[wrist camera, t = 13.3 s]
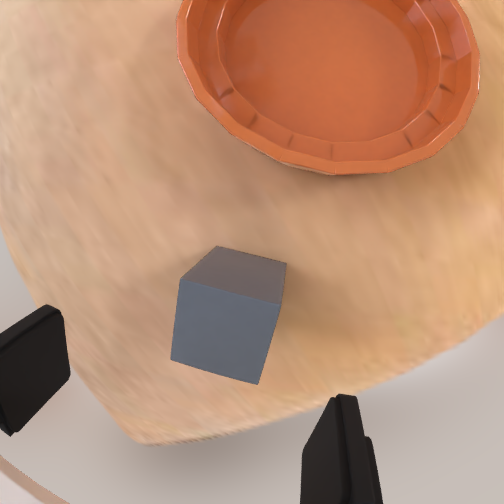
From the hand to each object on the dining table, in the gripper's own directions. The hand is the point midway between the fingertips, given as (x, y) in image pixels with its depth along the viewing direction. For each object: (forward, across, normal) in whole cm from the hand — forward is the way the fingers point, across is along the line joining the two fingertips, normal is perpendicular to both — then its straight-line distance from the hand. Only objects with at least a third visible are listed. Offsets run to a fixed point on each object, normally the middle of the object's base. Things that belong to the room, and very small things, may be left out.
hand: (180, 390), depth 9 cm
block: (+11, 0, +1) cm, 11 cm away
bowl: (+12, -2, -15) cm, 19 cm away
